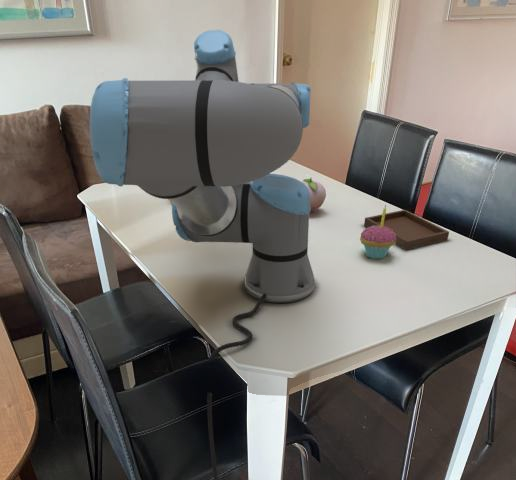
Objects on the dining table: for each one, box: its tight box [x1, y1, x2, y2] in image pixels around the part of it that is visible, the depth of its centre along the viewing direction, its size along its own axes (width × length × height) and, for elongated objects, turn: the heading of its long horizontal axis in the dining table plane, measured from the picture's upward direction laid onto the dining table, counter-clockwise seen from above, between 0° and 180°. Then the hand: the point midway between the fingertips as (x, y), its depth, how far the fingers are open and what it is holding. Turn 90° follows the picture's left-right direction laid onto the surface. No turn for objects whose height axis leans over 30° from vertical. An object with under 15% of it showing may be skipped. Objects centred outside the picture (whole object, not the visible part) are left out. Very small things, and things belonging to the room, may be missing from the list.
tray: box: [363, 209, 450, 251], centre depth 133 cm, size 18×14×2 cm
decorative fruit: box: [301, 177, 327, 213], centre depth 144 cm, size 9×8×10 cm
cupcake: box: [359, 204, 396, 260], centre depth 120 cm, size 9×8×12 cm
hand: (237, 175), depth 126 cm, fingers open, 13 cm apart
